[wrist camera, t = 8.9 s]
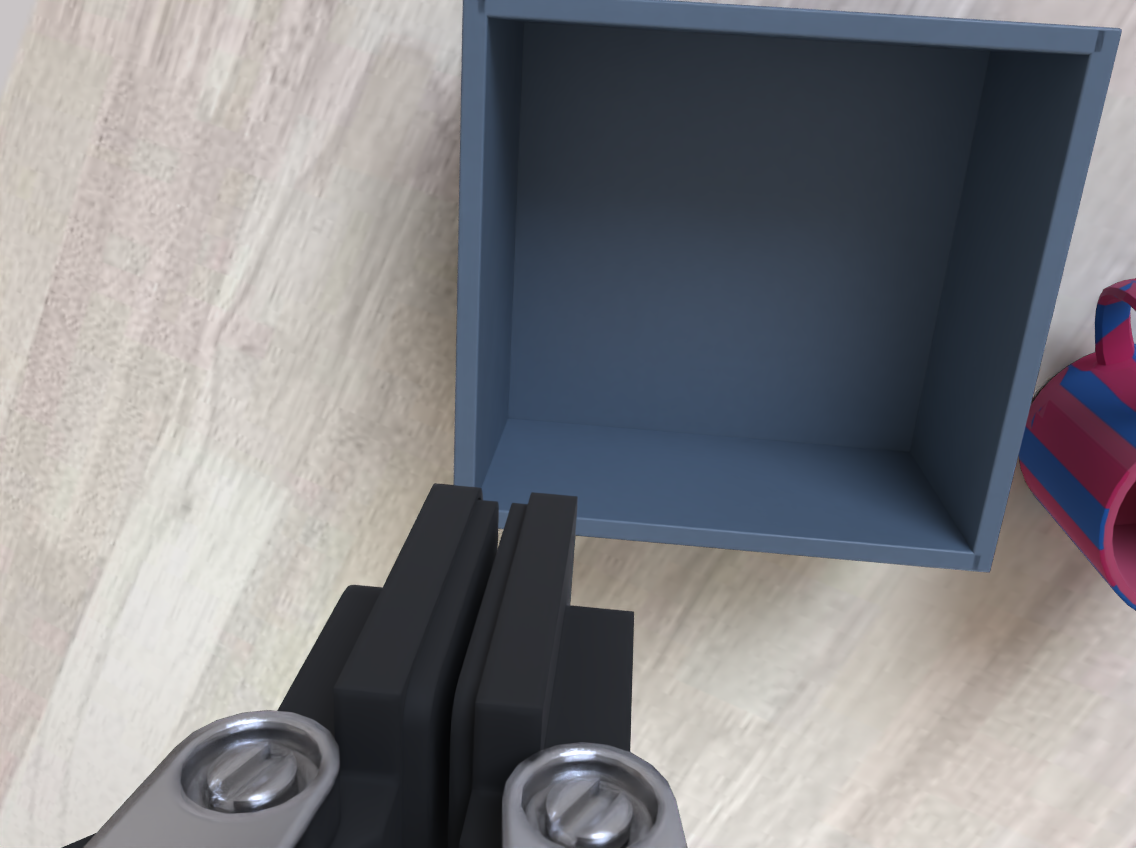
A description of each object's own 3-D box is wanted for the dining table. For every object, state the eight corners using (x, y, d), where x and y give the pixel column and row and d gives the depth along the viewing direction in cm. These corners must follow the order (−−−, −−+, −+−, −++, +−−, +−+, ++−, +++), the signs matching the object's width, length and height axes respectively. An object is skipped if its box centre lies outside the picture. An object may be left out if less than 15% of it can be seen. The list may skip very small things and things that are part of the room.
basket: (452, 525, 28) (990, 573, 27) (462, -13, 23) (1124, 28, 22) (494, 424, 36) (918, 459, 35) (508, -1, 31) (1006, 30, 30)
